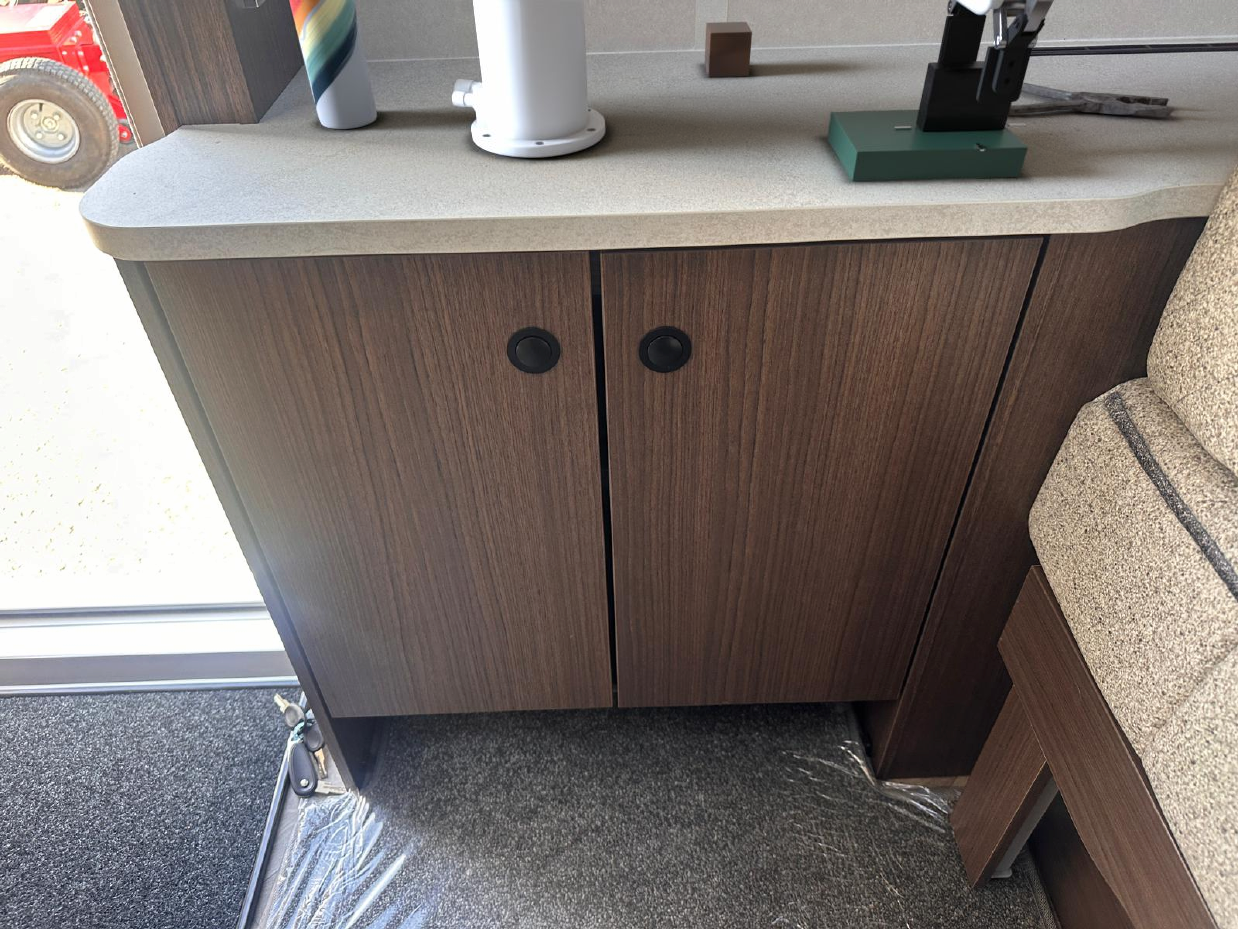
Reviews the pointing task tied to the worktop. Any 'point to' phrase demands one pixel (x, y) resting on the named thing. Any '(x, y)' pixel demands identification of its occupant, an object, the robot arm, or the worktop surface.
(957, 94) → the block
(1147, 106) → the pliers
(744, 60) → the block
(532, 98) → the robot arm
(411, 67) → the worktop surface
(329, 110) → the lotion bottle
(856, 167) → the green base
